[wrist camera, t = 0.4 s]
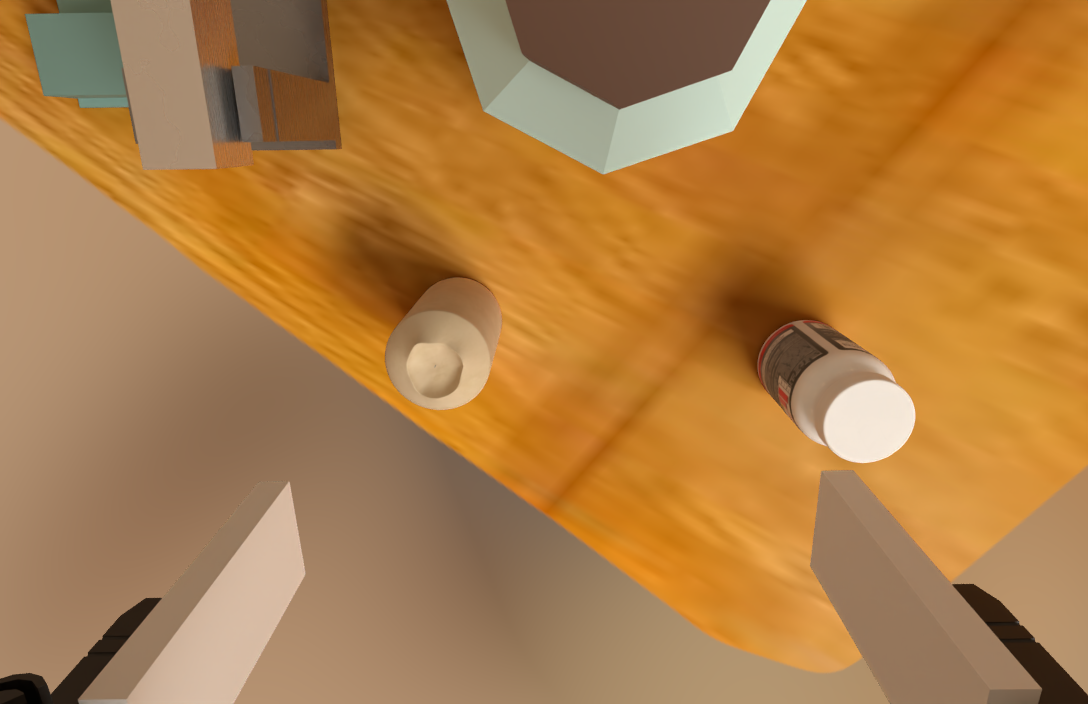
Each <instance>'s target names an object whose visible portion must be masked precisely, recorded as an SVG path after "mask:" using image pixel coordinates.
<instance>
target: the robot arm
mask: <svg viewBox="0 0 1088 704" xmlns="http://www.w3.org/2000/svg"><path fill="white" fill-rule="evenodd" d="M810 566H811V568H812V570H813V572H814V573H815V575H816V577H817V579H818V580H819V582H820V584H821V585H822V587H823V589H824V591H825V592H826V594H827V596H828V598H829V599H830V601H831V603H832V604H833V606H834V608H835V610H836V611H837V613H838V615H839V617H840V618H841V620H842V622H843V623H844V625H845V627H846V629H847V630H848V632H849V634H850V636H851V637H852V639H853V641H854V642H855V644H856V646H857V648H858V649H859V651H860V653H861V655H862V656H863V658H864V660H865V661H866V663H867V665H868V666H869V668H870V670H871V672H872V673H873V675H874V677H875V679H876V680H877V682H878V684H879V686H880V687H881V689H882V691H883V692H884V694H885V696H886V698H887V699H888V701H889V703H890V704H1088V695H1087V694H1086V693H1085V692H1084V691H1083V689H1082V688H1081V687H1080V686H1079V685H1078V684H1077V683H1076V682H1075V681H1074V680H1073V679H1072V678H1071V677H1070V675H1069V674H1068V673H1067V672H1066V671H1065V670H1064V669H1063V668H1062V667H1061V666H1060V665H1059V664H1058V663H1057V662H1056V661H1055V660H1054V658H1053V657H1052V656H1051V655H1050V654H1049V653H1048V652H1047V651H1046V650H1045V649H1044V648H1043V647H1042V646H1041V644H1040V643H1036V642H1035V638H1034V637H1033V636H1032V635H1031V634H1030V633H1029V632H1028V631H1027V630H1026V629H1025V627H1024V626H1020V625H1019V621H1018V620H1017V619H1016V618H1015V617H1014V616H1013V615H1012V613H1010V611H1009V610H1008V609H1007V608H1006V607H1005V606H1004V605H1003V604H1002V603H1001V602H1000V601H999V600H997V599H996V598H994V597H993V596H991V595H990V594H988V593H986V592H985V591H983V590H982V589H980V588H979V587H977V586H976V585H974V584H951V583H950V582H949V581H948V580H947V578H946V577H945V576H944V575H943V574H942V573H941V571H940V570H939V569H938V568H937V567H936V566H935V565H934V563H933V562H932V561H931V560H930V559H929V558H928V556H927V555H926V554H925V553H924V552H923V551H922V549H921V548H920V547H919V546H918V545H917V544H916V543H915V541H914V540H913V539H912V538H911V537H910V536H909V534H908V533H907V532H906V531H905V530H904V529H903V527H902V526H901V525H900V524H899V523H898V522H897V521H896V519H895V518H894V517H893V516H892V515H891V514H890V512H889V511H888V510H887V509H886V508H885V507H884V506H883V504H882V503H881V502H880V501H879V500H878V499H877V497H876V496H875V495H874V494H873V493H872V492H871V490H870V489H869V488H868V487H867V486H866V485H865V484H864V482H863V481H862V480H861V479H860V478H859V477H858V475H857V474H856V473H855V472H854V471H853V470H841V471H821V478H820V487H819V495H818V504H817V512H816V521H815V529H814V538H813V546H812V555H811V563H810ZM304 576H305V568H304V562H303V557H302V551H301V545H300V539H299V534H298V528H297V522H296V517H295V511H294V505H293V500H292V494H291V488H290V483H289V481H278V482H277V481H275V482H258V483H257V485H256V486H255V487H254V488H253V490H252V491H251V492H250V493H249V494H248V496H247V497H246V498H245V499H244V500H243V502H242V503H241V504H240V505H239V506H238V508H237V509H236V510H235V511H234V512H233V514H232V515H231V516H230V517H229V518H228V520H227V521H226V522H225V523H224V524H223V526H222V527H221V528H220V529H219V530H218V532H217V533H216V534H215V535H214V536H213V538H212V539H211V540H210V541H209V543H208V544H207V545H206V546H205V547H204V548H203V550H202V551H201V552H200V553H199V555H198V556H197V557H196V558H195V559H194V561H193V562H192V563H191V564H190V566H188V568H187V569H186V570H185V571H184V573H183V574H182V575H181V576H180V577H179V579H178V580H177V581H176V582H175V583H174V585H173V586H172V587H171V588H170V589H169V591H168V592H167V593H166V594H165V595H164V597H163V598H146V599H144V600H143V601H141V602H140V603H138V604H137V605H136V606H134V607H133V608H131V609H130V610H128V611H127V612H125V613H124V614H122V615H121V616H120V617H119V618H118V619H117V620H116V621H115V623H114V624H113V625H112V626H111V627H110V628H109V629H108V630H107V632H106V633H105V634H104V635H103V638H102V640H99V641H98V642H97V643H96V644H95V645H94V646H93V647H92V649H91V650H90V651H89V652H88V656H87V657H84V658H83V659H82V660H81V661H80V662H79V663H78V664H77V665H76V667H75V668H74V669H73V670H72V671H71V672H70V673H69V674H68V676H67V677H66V678H65V679H64V680H63V681H62V682H61V684H60V685H59V686H58V687H57V688H56V689H55V690H54V691H53V693H52V694H51V695H50V692H49V689H48V686H47V684H46V682H45V680H44V679H43V677H42V676H39V675H35V674H32V673H26V674H16V675H11V676H8V677H5V678H1V679H0V704H233V703H234V702H235V700H236V698H237V696H238V694H239V693H240V690H241V689H242V687H243V685H244V684H245V682H246V680H247V678H248V676H249V675H250V673H251V671H252V669H253V667H254V666H255V664H256V662H257V660H258V659H259V657H260V655H261V653H262V651H263V650H264V648H265V646H266V644H267V642H268V640H269V639H270V637H271V635H272V633H273V632H274V630H275V628H276V626H277V624H278V623H279V621H280V619H281V617H282V615H283V613H284V612H285V610H286V608H287V606H288V605H289V603H290V601H291V599H292V597H293V596H294V593H295V592H296V590H297V588H298V587H299V585H300V583H301V581H302V579H303V578H304Z"/></svg>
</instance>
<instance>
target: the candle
mask: <svg viewBox="0 0 1088 704" xmlns="http://www.w3.org/2000/svg"><path fill="white" fill-rule="evenodd" d="M501 327H502V315H501V310H500V307H499V304H498V302H497V300H496V298H495V297H494V295H493V294H492V293H491V292H490V291H489V290H488V289H487V288H486V287H485V286H483V285H482V284H480V283H478V282H477V281H474V280H471V279H468V278H461V277H454V278H448V279H445V280H442V281H439V282H437V283H436V284H434V285H432V286H431V287H430V288H429V289H428V290H427V291H426V292H425V293H424V294H423V295H422V296H421V297H420V299H419V300H418V301H417V302H416V304H415V305H414V306H413V307H412V308H411V310H410V311H409V312H408V313H407V314H406V316H405V317H404V318H403V319H402V321H401V322H400V323H399V324H398V325H397V327H396V328H395V329H394V331H393V332H392V334H391V336H390V338H389V340H388V343H387V346H386V351H385V363H386V368H387V372H388V375H389V377H390V379H391V381H392V383H393V385H394V386H395V387H396V389H397V390H398V391H399V392H400V393H401V394H402V395H403V396H404V397H405V398H407V399H408V400H410V401H411V402H413V403H415V404H417V405H419V406H422V407H425V408H429V409H435V410H447V409H453V408H456V407H459V406H462V405H464V404H466V403H468V402H469V401H471V400H472V399H473V398H475V397H476V396H477V395H478V394H479V393H480V391H481V390H482V389H483V387H484V385H485V383H486V381H487V379H488V376H489V373H490V369H491V366H492V362H493V358H494V355H495V351H496V347H497V344H498V340H499V336H500V332H501Z"/></svg>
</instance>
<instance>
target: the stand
mask: <svg viewBox="0 0 1088 704" xmlns="http://www.w3.org/2000/svg"><path fill="white" fill-rule="evenodd" d="M230 2H231V9H232V16H233V23H234V30H235V37H236V44H237V51H238V58H239V65H240V66H231V68H232V75H233V82H234V89H235V95H236V102H237V109H238V116H239V123H240V129H241V136H242V142H251V148H252V150H314V149H342V147H341V137H340V128H339V118H338V108H337V99H336V89H335V79H334V69H333V60H332V50H331V40H330V31H329V21H328V11H327V2H326V0H230ZM121 70H122V75H123V80H124V85H125V90H126V96H127V101H128V106H129V111H130V116H131V121H132V126H133V131H134V137H135V142H136V144H138V140H137V135H136V130H135V124H134V119H133V114H132V109H131V104H130V99H129V93H128V88H127V83H126V78H125V73H124V68H121Z"/></svg>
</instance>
